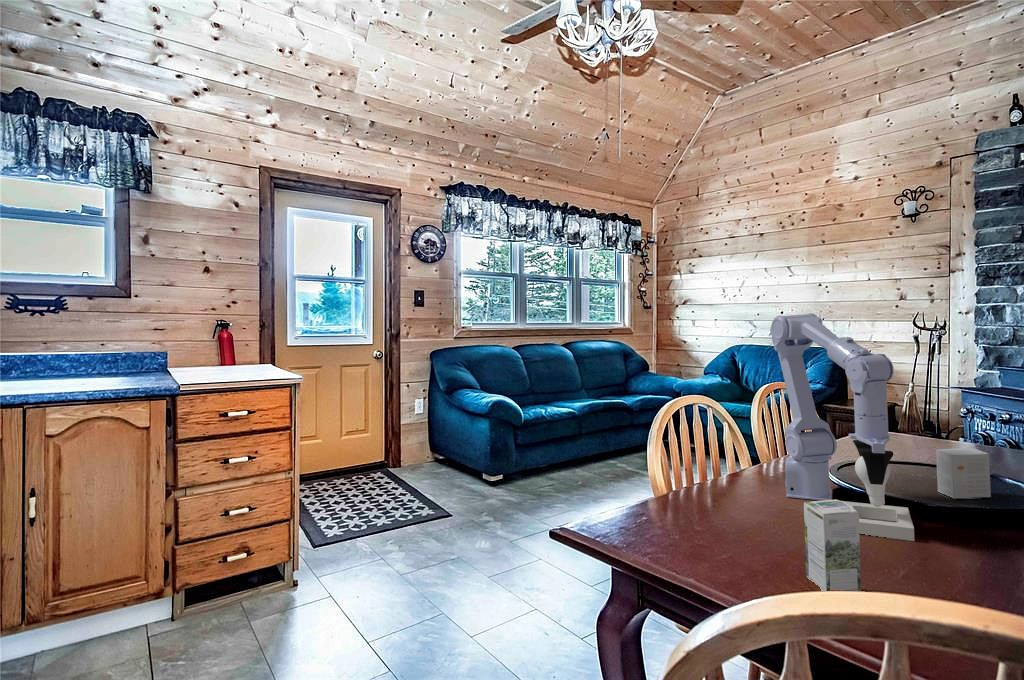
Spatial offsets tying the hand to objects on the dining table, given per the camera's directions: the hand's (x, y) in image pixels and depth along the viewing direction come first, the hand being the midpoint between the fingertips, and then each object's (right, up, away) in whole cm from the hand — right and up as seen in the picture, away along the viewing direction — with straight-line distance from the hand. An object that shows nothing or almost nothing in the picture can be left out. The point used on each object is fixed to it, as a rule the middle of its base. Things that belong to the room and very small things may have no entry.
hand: (873, 479), depth 113 cm
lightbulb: (+1, -6, 0) cm, 6 cm away
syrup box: (-22, -13, -24) cm, 35 cm away
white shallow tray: (+1, -10, 0) cm, 10 cm away
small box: (+29, -7, +13) cm, 33 cm away
